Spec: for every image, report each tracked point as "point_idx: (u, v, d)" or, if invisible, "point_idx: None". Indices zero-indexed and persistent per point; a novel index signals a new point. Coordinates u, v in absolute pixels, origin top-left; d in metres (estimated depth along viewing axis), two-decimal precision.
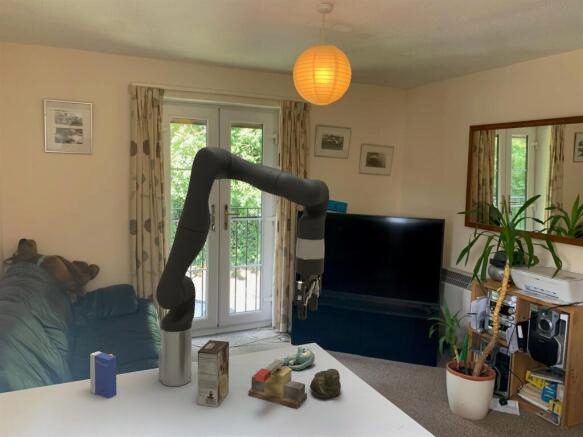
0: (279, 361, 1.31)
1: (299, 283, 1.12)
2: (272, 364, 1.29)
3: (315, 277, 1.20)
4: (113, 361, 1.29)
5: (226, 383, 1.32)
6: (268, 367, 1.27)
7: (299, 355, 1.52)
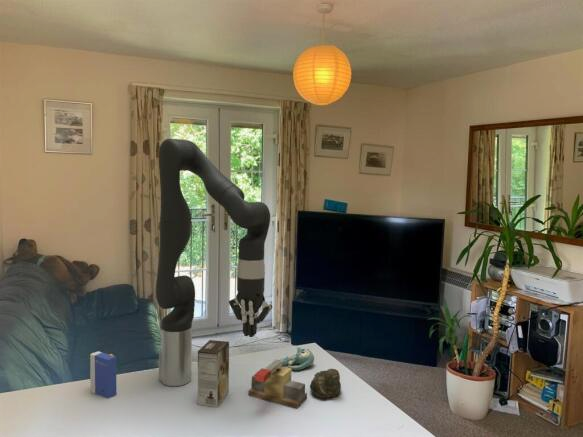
0: (279, 361, 1.31)
1: (270, 308, 1.20)
2: (272, 364, 1.29)
3: None
4: (113, 361, 1.29)
5: (226, 383, 1.32)
6: (268, 367, 1.27)
7: (299, 356, 1.52)
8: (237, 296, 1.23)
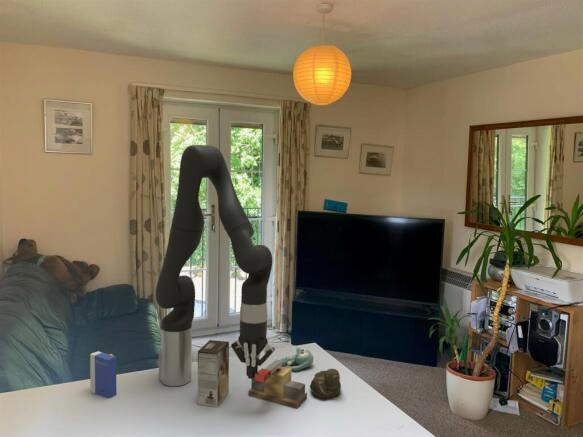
0: (279, 361, 1.31)
1: (272, 352, 1.22)
2: (272, 364, 1.29)
3: None
4: (113, 361, 1.29)
5: (226, 383, 1.32)
6: (268, 367, 1.27)
7: (297, 356, 1.52)
8: (239, 339, 1.24)
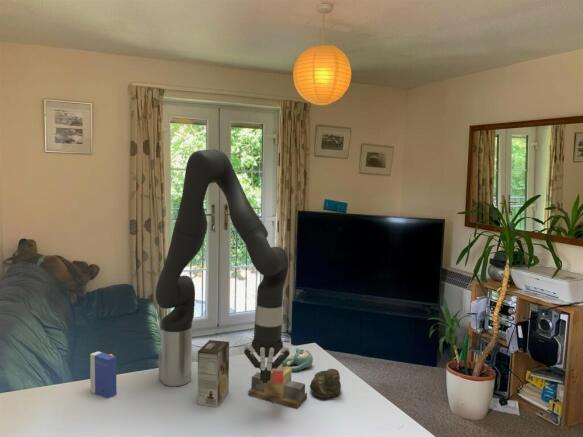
0: None
1: None
2: None
3: None
4: (113, 361, 1.29)
5: (226, 383, 1.32)
6: None
7: (297, 356, 1.51)
8: (254, 344, 1.20)
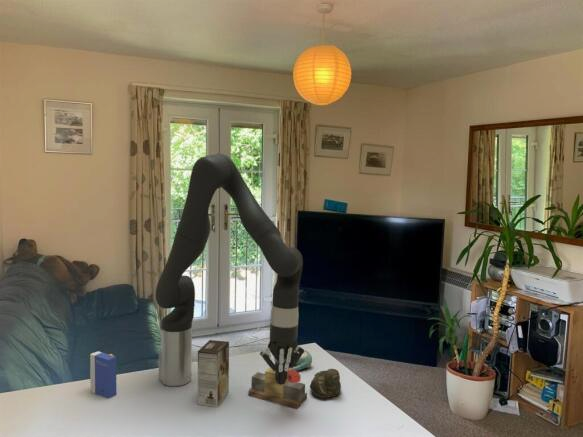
0: None
1: None
2: None
3: None
4: (113, 361, 1.29)
5: (226, 383, 1.32)
6: None
7: None
8: (272, 347, 1.18)
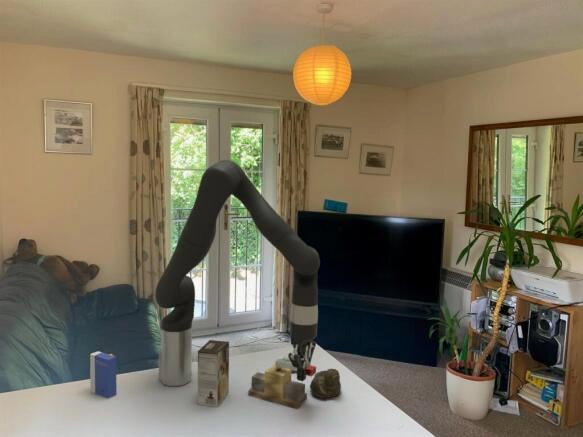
0: (280, 360, 1.32)
1: None
2: (287, 363, 1.30)
3: None
4: (113, 361, 1.29)
5: (226, 383, 1.32)
6: None
7: None
8: (300, 346, 1.20)
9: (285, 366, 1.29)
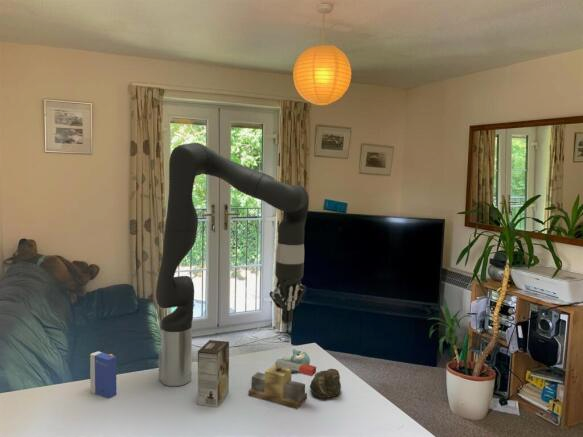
0: (280, 360, 1.32)
1: None
2: (287, 363, 1.30)
3: None
4: (113, 361, 1.29)
5: (226, 383, 1.32)
6: (294, 365, 1.29)
7: (293, 358, 1.50)
8: (282, 286, 1.16)
9: (285, 366, 1.29)
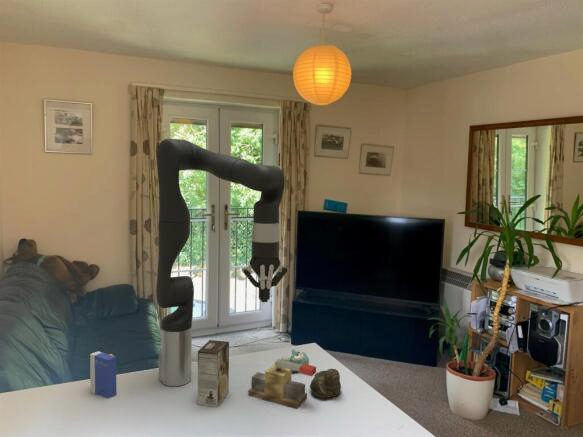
0: (280, 360, 1.32)
1: None
2: (287, 363, 1.30)
3: None
4: (113, 361, 1.29)
5: (226, 383, 1.32)
6: (294, 365, 1.29)
7: (292, 358, 1.50)
8: (253, 263, 1.19)
9: (285, 366, 1.29)
